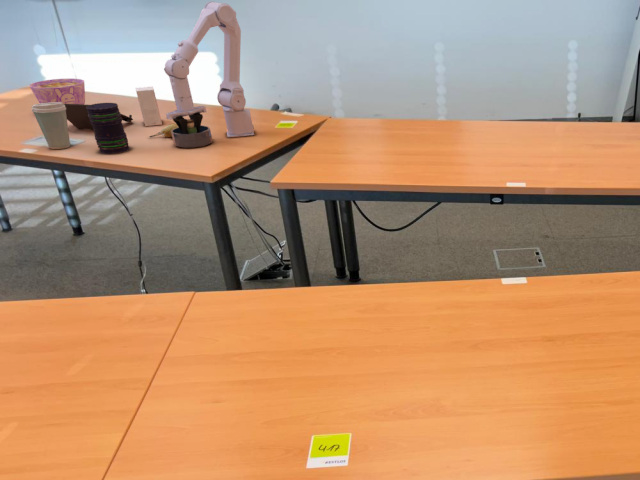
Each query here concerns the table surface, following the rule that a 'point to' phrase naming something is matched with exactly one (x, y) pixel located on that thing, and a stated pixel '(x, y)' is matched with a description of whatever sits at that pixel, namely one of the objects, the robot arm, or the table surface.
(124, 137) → the dark striped cylinder
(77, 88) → the bowl of food
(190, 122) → the peg doll
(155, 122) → the small box
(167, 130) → the decorative bird model
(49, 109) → the disposable coffee cup
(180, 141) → the bowl
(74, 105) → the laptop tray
